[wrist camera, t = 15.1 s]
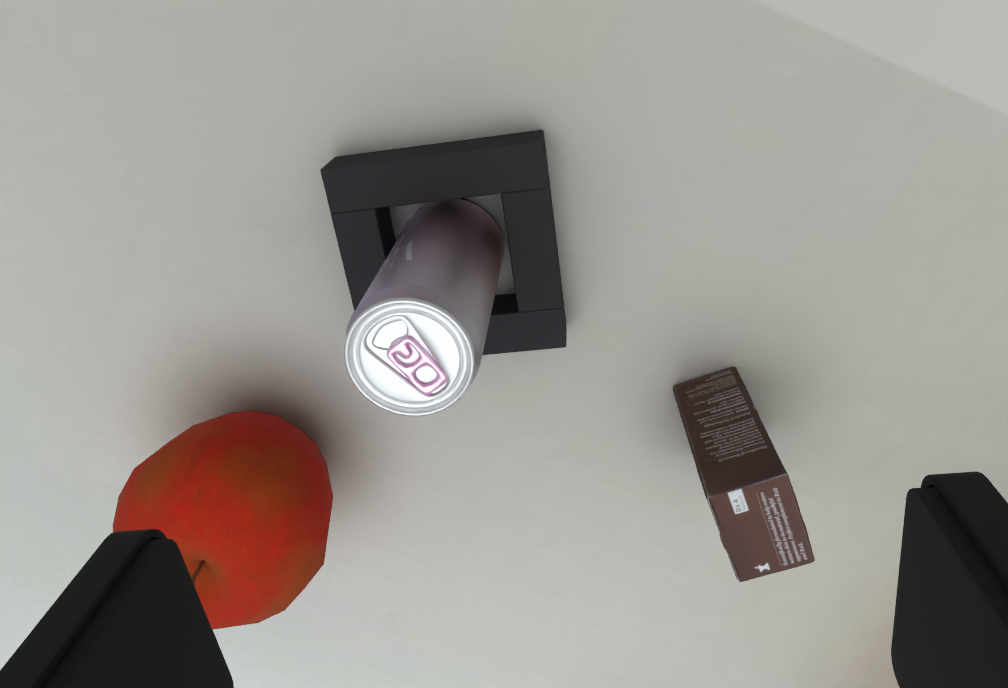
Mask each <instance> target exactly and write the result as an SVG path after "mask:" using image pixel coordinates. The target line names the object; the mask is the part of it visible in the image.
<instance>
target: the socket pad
mask: <svg viewBox="0 0 1008 688" xmlns="http://www.w3.org/2000/svg"><path fill="white" fill-rule="evenodd" d="M321 174H322V179H323V183H324V187H325V191H326V195H327V199H328V203H329V207H330V211H331V213H332V214H331V216H332V220H333V224H334V228H335V233H336V237H337V241H338V245H339V249H340V253H341V257H342V261H343V265H344V269H345V273H346V278H347V282H348V286H349V290H350V294H351V298H352V302H353V306H354V310H356V308H357V306H358V305H359V303H360V301H361V300H362V298H363V297H364V295H365V293H366V292H367V290H368V288H369V287H370V285H371V283H372V282H373V280H374V278H375V277H376V275H377V273H378V272H379V270H380V268H381V267H382V265H383V263H384V262H385V260H386V258H387V257H388V255H389V253H390V252H391V250H392V248H393V247H394V245H395V243H396V241H395V236H394V231H393V226H392V222H391V217H390V212H389V208H388V207H391V206H400V205H408V204H416V203H424V202H433V201H441V200H449V199H458V198H466V197H474V196H483V195H491V194H499V193H502V194H501V196H502V203H503V210H504V217H505V223H506V230H507V237H508V244H509V251H510V258H511V265H512V272H513V278H514V285H515V292H516V294H508V295H498V296H495V297H494V302H493V307H492V311H491V316H490V321H489V325H488V330H487V335H486V339H485V344H484V349H483V353H482V355H487V354H498V353H508V352H519V351H530V350H540V349H551V348H561V347H566V318H565V309H564V301H563V292H562V284H561V275H560V267H559V258H558V250H557V241H556V233H555V224H554V216H553V207H552V199H551V190H550V182H549V175H548V165H547V157H546V148H545V140H544V131H543V130H538V131H531V132H523V133H515V134H507V135H500V136H492V137H484V138H477V139H469V140H461V141H454V142H446V143H438V144H431V145H423V146H415V147H408V148H400V149H392V150H385V151H377V152H369V153H361V154H354V155H346V156H338V157H335V158H334V159H332V160H331V161H330V162H329V163H328V164H326V165H325V166H324V167H323V168H322V169H321Z"/></svg>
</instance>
